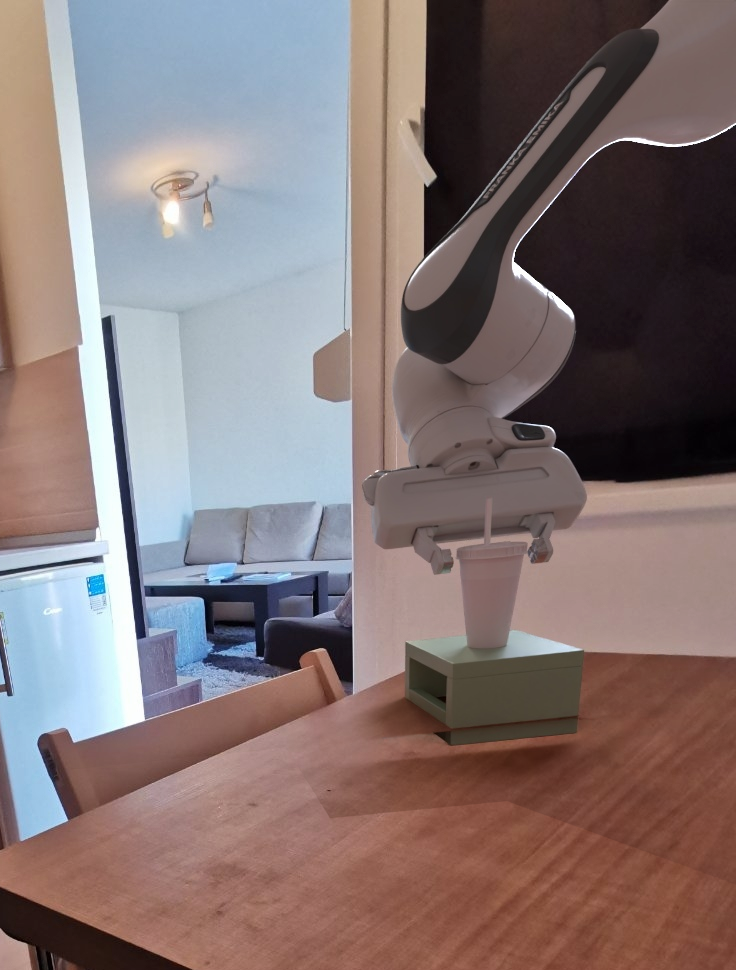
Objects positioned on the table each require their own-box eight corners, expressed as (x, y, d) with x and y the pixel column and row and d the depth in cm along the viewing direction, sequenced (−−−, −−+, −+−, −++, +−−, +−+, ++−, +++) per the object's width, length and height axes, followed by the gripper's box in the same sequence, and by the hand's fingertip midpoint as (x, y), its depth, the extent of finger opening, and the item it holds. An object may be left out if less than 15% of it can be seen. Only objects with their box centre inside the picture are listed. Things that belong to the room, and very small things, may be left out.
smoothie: (439, 646, 79) (442, 503, 74) (487, 637, 81) (494, 496, 76) (486, 653, 73) (493, 498, 69) (537, 643, 75) (547, 491, 70)
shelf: (511, 700, 86) (515, 629, 83) (576, 733, 73) (584, 649, 70) (404, 711, 87) (405, 641, 84) (450, 745, 74) (453, 663, 71)
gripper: (364, 449, 77) (392, 553, 71) (569, 424, 76) (615, 528, 70) (353, 497, 83) (379, 597, 77) (544, 475, 82) (584, 574, 76)
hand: (493, 564), depth 74 cm, fingers open, 8 cm apart
